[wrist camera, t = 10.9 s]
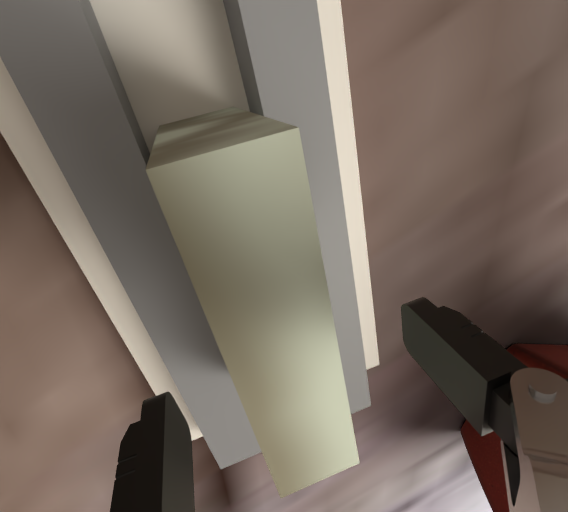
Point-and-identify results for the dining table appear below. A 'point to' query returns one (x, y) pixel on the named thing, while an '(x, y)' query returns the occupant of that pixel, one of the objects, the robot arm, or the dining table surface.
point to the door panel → (260, 282)
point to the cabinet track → (166, 95)
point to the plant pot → (488, 447)
